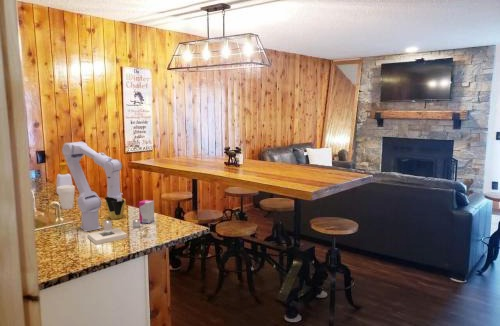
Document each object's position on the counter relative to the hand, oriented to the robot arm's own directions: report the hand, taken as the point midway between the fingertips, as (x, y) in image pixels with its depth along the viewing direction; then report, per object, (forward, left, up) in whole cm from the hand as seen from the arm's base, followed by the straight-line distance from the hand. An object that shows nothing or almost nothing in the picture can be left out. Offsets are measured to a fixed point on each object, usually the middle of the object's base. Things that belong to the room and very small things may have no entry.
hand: (114, 213), depth 184 cm
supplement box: (-6, +19, -10) cm, 23 cm away
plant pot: (-25, +10, -10) cm, 29 cm away
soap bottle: (-106, +5, -10) cm, 106 cm away
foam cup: (-63, -5, -10) cm, 64 cm away
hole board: (+5, -6, -10) cm, 12 cm away
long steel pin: (+5, -5, -10) cm, 12 cm away
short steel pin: (-2, +12, -10) cm, 16 cm away
